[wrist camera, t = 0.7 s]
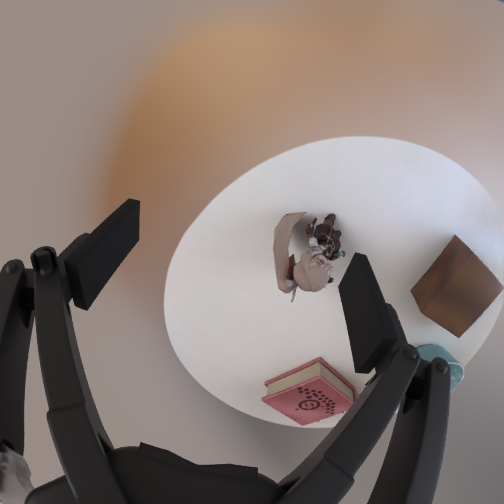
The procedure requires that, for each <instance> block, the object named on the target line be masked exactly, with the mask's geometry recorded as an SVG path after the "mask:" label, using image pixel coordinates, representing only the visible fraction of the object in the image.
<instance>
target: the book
mask: <svg viewBox="0 0 504 504" xmlns="http://www.w3.org/2000/svg"><path fill="white" fill-rule="evenodd" d="M264 385H266V386H267V387H268V391H267V396H265V397H262V401H263V402H265V403H266V404H268V405H269V406H271V407H272V408H274V409H276V410H277V411H279V412H280V413H282V414H284V415H285V416H287V417H289V418H290V419H292V420H294V421H295V422H297V423H299V424H300V425H302V426H303V425H307V424H310V423H313V422H316V421H317V422H319V420H322V419H325V418H328V417H331V416H333V415H336V414H339V413H341V412H342V413H344V411H347V410H349V408H350V407H351V406H352V405H353V403H354V402H355V401H356V399H357V393H356V388H355V387H354V386H352V385H351V384H350V383H349V382H348V381H347V380H345V379H344V378H343V377H342V376H341V375H340V374H339V373H338V372H336V371H335V370H334V369H333V368H332V367H331V366H330V365H328V364H327V363H326V362H325V361H324V360H323V359H322V358H321V357H319V358H317V359H315V360H313V361H310V362H308V363H306V364H304V365H302V366H300V367H298V368H296V369H293V370H291V371H289V372H287V373H285V374H282V375H280V376H278V377H275V378H273V379H271V380H268V381H266V382H265V383H264Z"/></svg>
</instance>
